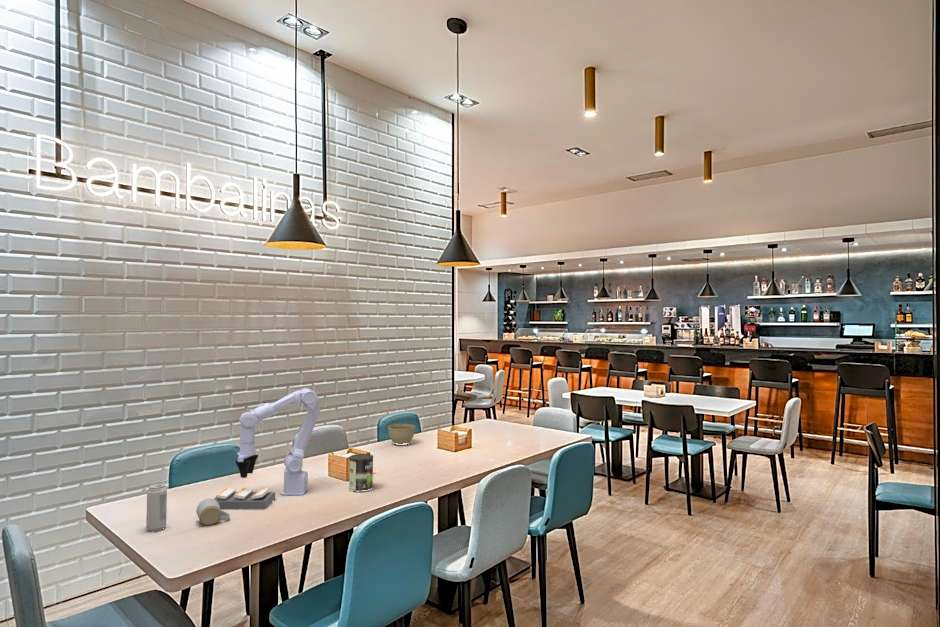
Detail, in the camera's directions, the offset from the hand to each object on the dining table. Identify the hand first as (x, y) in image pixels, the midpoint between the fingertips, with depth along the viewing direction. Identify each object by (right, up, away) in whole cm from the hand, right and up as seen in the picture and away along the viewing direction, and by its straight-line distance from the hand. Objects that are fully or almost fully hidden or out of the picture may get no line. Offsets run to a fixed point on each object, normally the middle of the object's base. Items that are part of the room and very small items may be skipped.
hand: (246, 475), depth 224 cm
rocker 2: (+9, -6, -7) cm, 12 cm away
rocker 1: (-5, -5, -7) cm, 11 cm away
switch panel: (+2, -9, -7) cm, 12 cm away
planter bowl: (+51, -12, +101) cm, 114 cm away
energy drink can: (-18, -9, -34) cm, 39 cm away
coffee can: (+44, -10, +14) cm, 47 cm away
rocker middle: (+2, -6, -7) cm, 9 cm away
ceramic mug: (-2, -9, -26) cm, 28 cm away
